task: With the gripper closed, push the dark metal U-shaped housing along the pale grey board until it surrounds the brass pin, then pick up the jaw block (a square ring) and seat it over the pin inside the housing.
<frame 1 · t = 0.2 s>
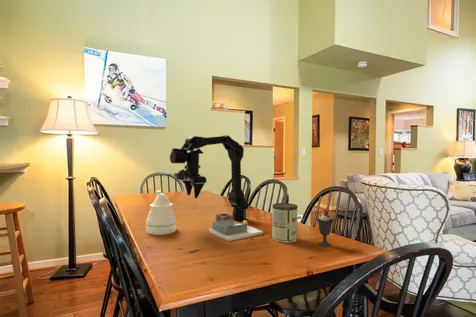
hand: (192, 196, 130), 15 cm above the table, fingers open, 9 cm apart
honey pot: (161, 231, 124), on the table
sundae: (324, 245, 109), on the table
jaw block: (224, 225, 136), on the table
housing: (229, 226, 122), point 3 cm above the table, slide at 0.0 cm
coffee can: (284, 239, 115), on the table
base board: (235, 232, 123), on the table
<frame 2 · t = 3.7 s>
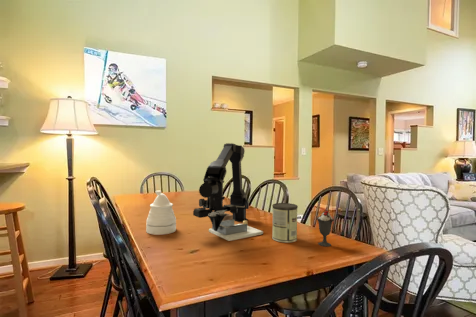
hand: (215, 230, 118), 2 cm above the table, fingers closed
housing: (229, 226, 122), point 3 cm above the table, slide at 0.0 cm, touching gripper
everything else where it was.
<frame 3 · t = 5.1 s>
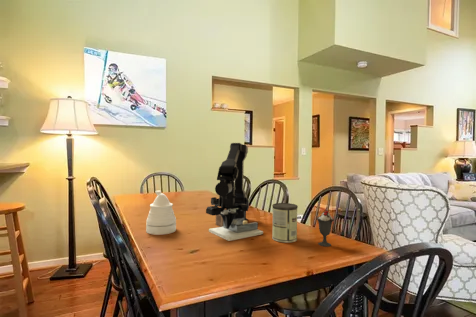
hand: (227, 228, 121), 2 cm above the table, fingers closed
housing: (240, 225, 125), point 3 cm above the table, slide at 5.9 cm, touching gripper
everything else where it was.
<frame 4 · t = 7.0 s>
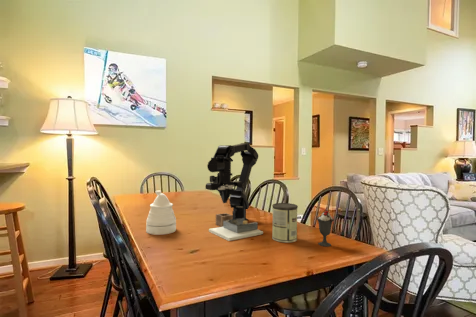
hand: (224, 203, 135), 11 cm above the table, fingers closed
housing: (240, 225, 125), point 3 cm above the table, slide at 5.9 cm
everything else where it was.
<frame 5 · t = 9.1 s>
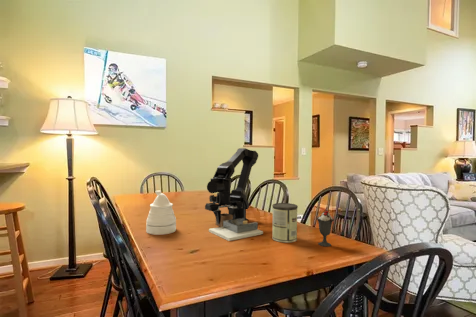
hand: (224, 222, 136), 1 cm above the table, fingers closed on jaw block, 6 cm apart
jaw block: (224, 225, 136), on the table, touching gripper
everything else where it was.
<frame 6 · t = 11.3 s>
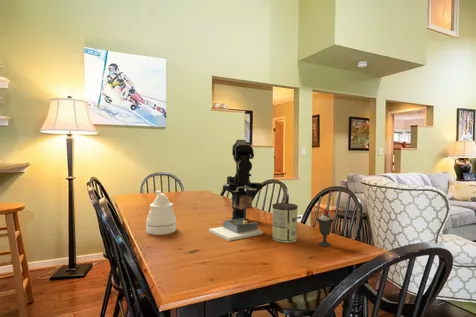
hand: (242, 205, 128), 11 cm above the table, fingers closed on jaw block, 6 cm apart
jaw block: (242, 207, 128), point 10 cm above the table, touching gripper
everything else where it was.
when the fingers open (3 cm above the table, at t = 13.3 s): jaw block drops 1 cm, resting on base board.
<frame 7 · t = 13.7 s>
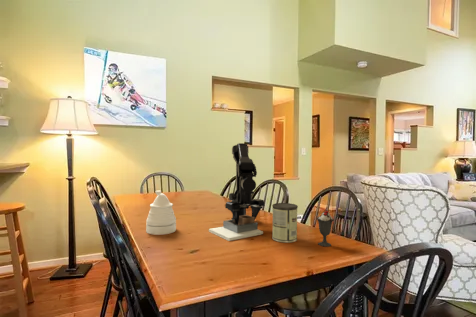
hand: (245, 222, 127), 3 cm above the table, fingers open, 9 cm apart
jaw block: (245, 227, 127), point 1 cm above the table, touching base board
everything else where it was.
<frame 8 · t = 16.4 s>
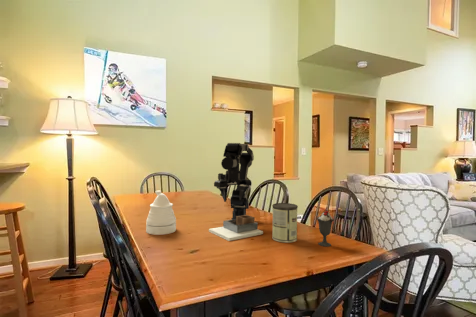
hand: (233, 200, 135), 12 cm above the table, fingers open, 9 cm apart
nothing on the table moved.
at the end: jaw block 0.1 cm from the target spot on the base board, point 1.2 cm above the base board's base; housing slide at 5.9 cm; jaw block tilted 0° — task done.
